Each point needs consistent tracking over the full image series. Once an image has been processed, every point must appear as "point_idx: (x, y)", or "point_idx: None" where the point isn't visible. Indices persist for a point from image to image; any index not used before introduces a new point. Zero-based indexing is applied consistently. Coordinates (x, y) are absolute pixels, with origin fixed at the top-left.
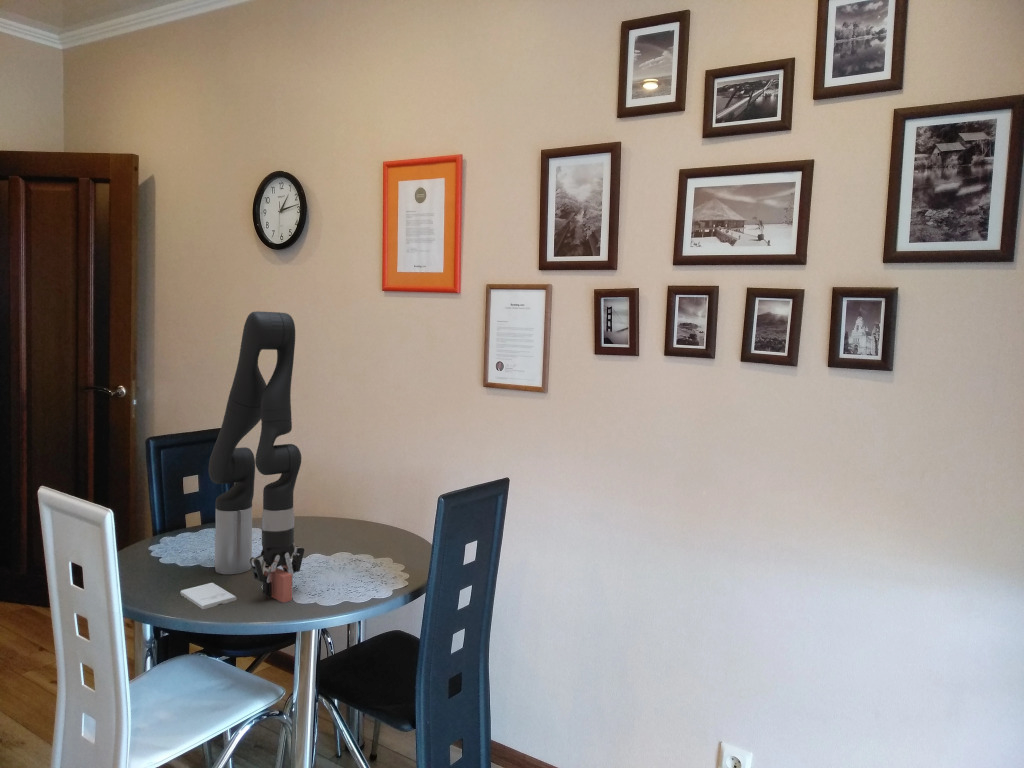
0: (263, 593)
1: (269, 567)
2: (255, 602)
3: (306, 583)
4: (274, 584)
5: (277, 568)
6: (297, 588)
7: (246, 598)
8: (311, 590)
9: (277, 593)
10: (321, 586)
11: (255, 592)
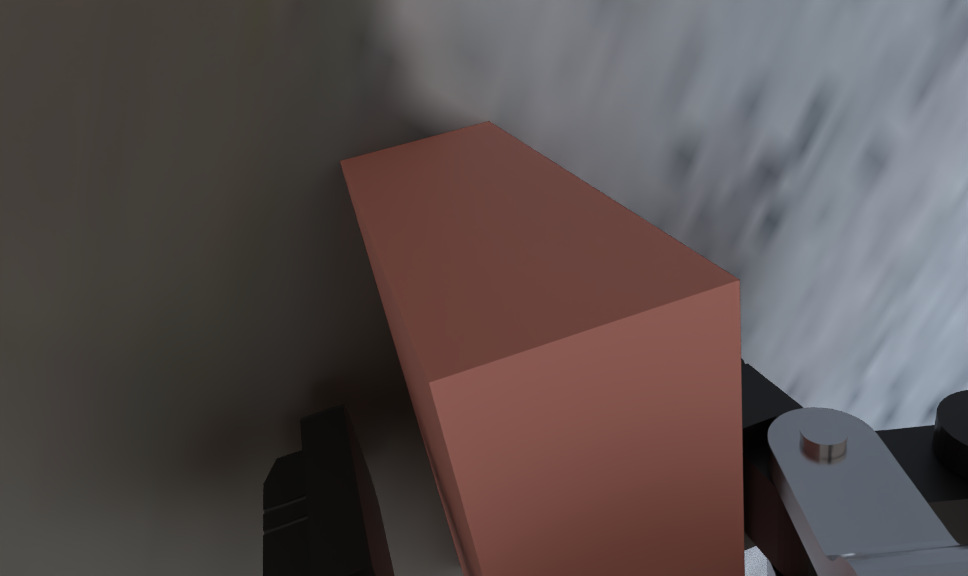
0: (277, 475)
1: (595, 432)
2: (149, 470)
3: (928, 116)
4: (466, 566)
5: (717, 562)
6: (769, 231)
7: (23, 279)
8: (835, 357)
9: (454, 536)
10: (961, 293)
11: (220, 81)
